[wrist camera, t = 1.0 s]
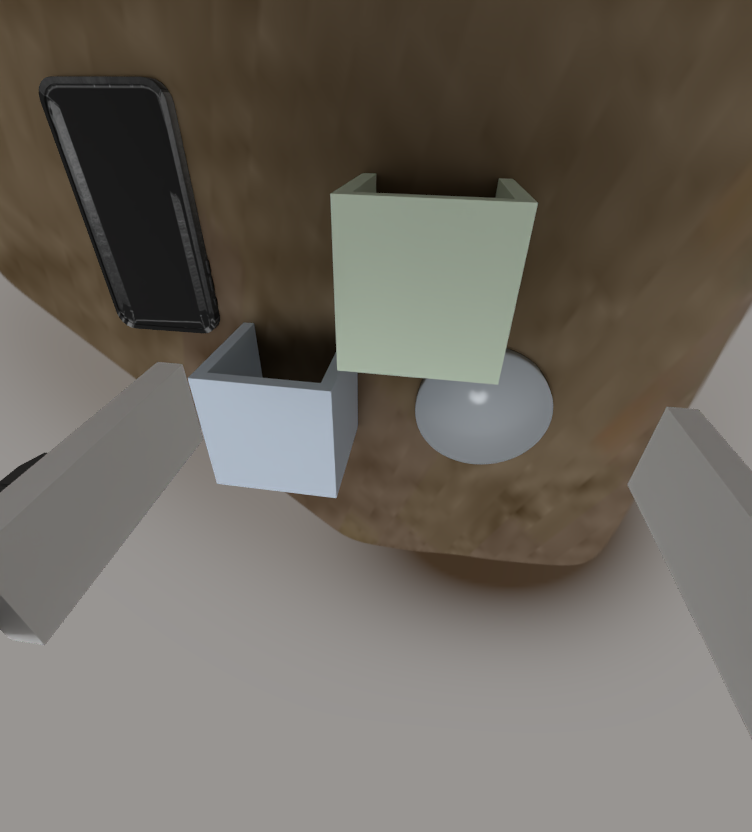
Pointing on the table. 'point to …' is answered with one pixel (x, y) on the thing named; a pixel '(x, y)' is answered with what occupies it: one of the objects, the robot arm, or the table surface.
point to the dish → (486, 413)
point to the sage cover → (427, 279)
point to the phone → (134, 197)
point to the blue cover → (274, 421)
